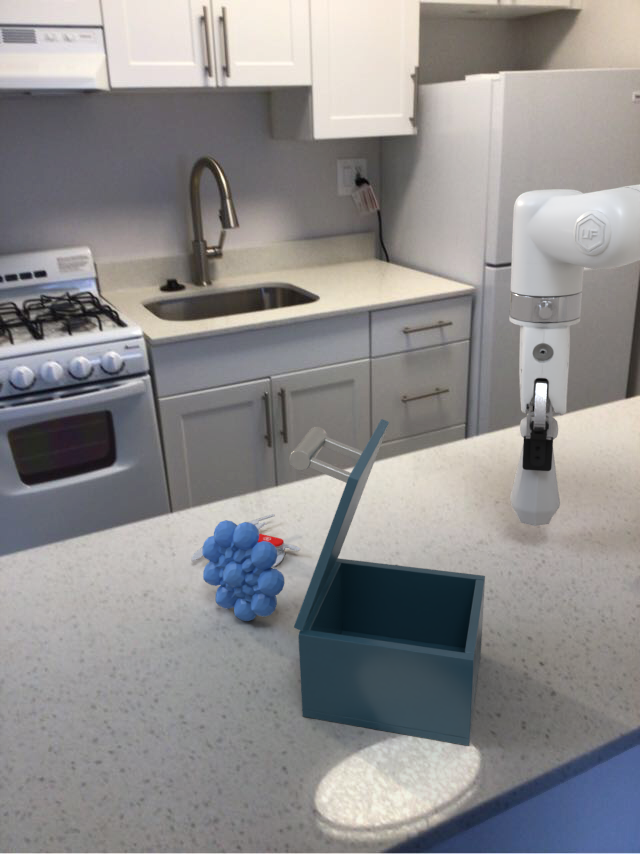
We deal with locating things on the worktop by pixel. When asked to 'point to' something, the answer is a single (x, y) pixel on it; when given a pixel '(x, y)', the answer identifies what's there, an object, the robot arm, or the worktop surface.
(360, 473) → the lid
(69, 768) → the worktop surface
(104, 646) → the worktop surface
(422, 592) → the teal box
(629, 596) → the worktop surface
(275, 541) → the swiss army knife
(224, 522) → the grapes
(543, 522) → the salt shaker
